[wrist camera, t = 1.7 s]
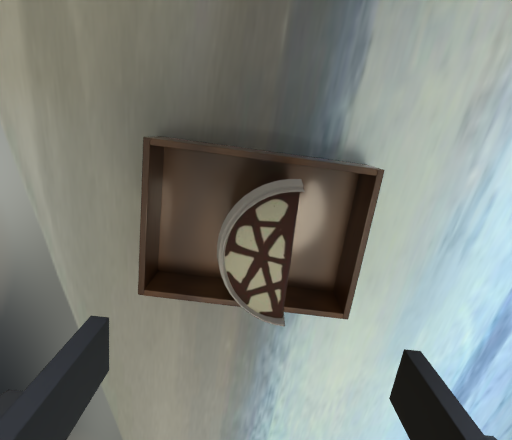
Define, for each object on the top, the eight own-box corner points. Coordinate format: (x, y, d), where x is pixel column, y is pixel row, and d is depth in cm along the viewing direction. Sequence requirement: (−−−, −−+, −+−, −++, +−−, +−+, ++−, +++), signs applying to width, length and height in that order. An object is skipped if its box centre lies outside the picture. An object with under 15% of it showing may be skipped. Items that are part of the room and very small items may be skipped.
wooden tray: (366, 164, 32) (384, 169, 27) (336, 295, 36) (348, 319, 32) (159, 136, 31) (143, 136, 27) (153, 273, 35) (137, 294, 31)
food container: (230, 161, 32) (219, 174, 22) (290, 167, 32) (305, 183, 22) (221, 272, 35) (209, 325, 25) (276, 277, 35) (284, 331, 26)
